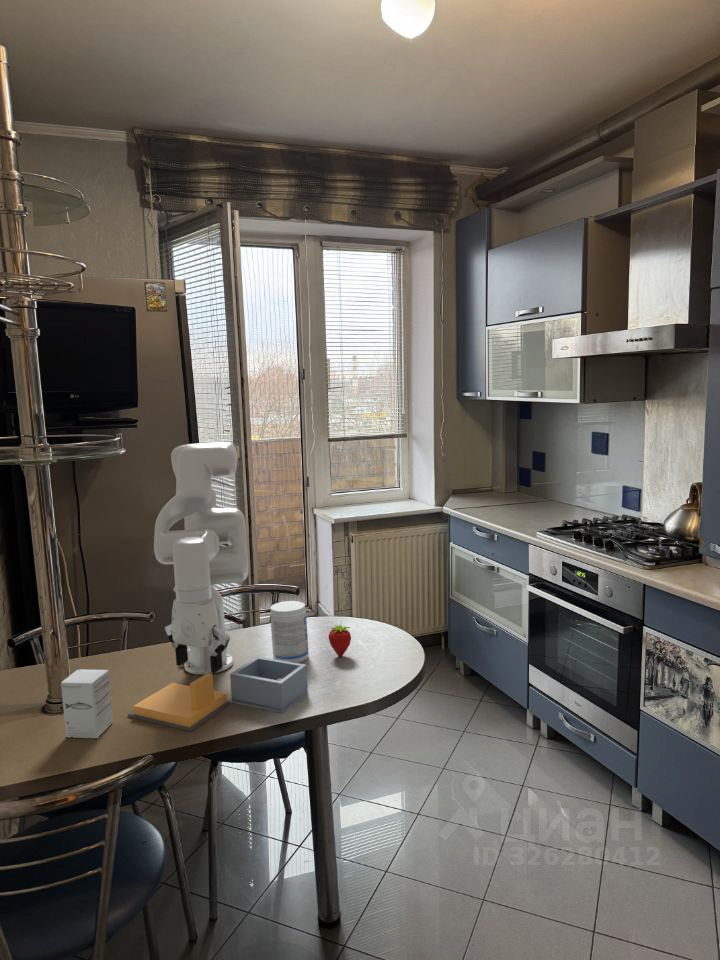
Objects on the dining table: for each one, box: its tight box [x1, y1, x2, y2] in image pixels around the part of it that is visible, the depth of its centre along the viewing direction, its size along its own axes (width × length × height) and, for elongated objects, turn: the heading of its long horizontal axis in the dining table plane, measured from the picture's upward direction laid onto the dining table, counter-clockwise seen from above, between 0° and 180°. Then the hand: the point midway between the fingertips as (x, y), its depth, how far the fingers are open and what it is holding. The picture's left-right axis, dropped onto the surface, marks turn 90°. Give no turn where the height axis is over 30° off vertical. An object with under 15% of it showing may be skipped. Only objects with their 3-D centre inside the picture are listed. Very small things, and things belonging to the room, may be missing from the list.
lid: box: [132, 673, 228, 727], centre depth 155 cm, size 16×13×8 cm
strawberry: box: [328, 622, 352, 658], centre depth 183 cm, size 6×8×10 cm
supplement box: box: [60, 669, 114, 739], centre depth 147 cm, size 7×7×13 cm
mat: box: [127, 699, 232, 732], centre depth 156 cm, size 18×14×1 cm
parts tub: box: [229, 656, 309, 714], centre depth 160 cm, size 14×11×7 cm
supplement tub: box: [269, 600, 310, 664], centre depth 182 cm, size 10×10×15 cm
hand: (199, 666), depth 152 cm, fingers open, 9 cm apart
